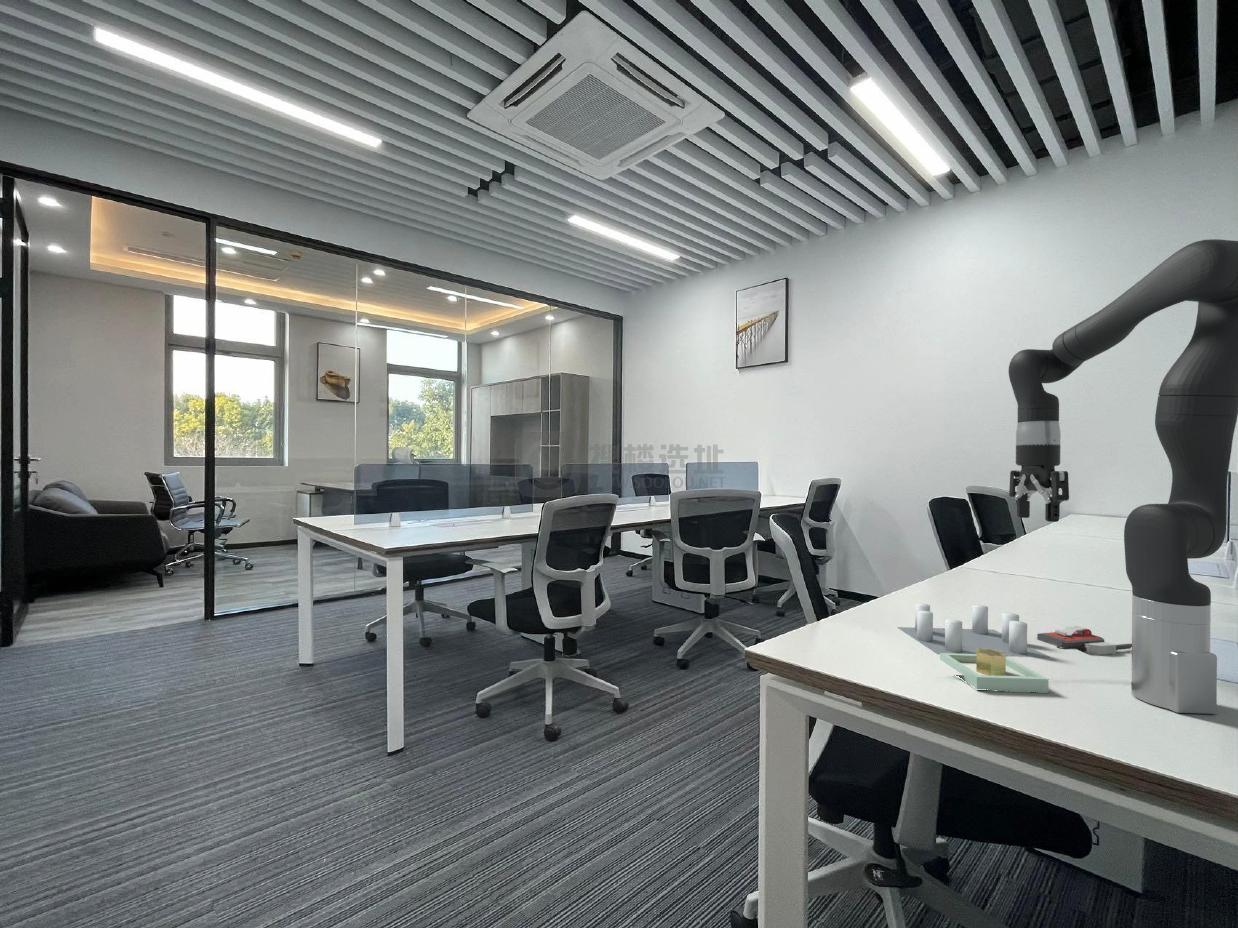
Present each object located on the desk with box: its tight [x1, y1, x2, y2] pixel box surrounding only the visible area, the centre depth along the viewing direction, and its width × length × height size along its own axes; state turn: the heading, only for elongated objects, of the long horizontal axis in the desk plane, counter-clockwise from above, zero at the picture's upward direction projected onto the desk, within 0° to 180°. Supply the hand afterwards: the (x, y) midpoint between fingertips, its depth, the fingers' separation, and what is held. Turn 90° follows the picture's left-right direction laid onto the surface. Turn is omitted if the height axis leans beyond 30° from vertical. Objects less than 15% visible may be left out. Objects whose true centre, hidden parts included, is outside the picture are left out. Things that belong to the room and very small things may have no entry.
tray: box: [939, 653, 1050, 694], centre depth 100 cm, size 12×12×2 cm
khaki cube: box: [975, 648, 1007, 676], centre depth 100 cm, size 4×5×4 cm
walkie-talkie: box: [1036, 625, 1132, 656], centre depth 117 cm, size 9×4×20 cm
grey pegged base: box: [896, 602, 1050, 658], centre depth 117 cm, size 18×22×7 cm
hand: (1037, 519), depth 114 cm, fingers open, 8 cm apart
